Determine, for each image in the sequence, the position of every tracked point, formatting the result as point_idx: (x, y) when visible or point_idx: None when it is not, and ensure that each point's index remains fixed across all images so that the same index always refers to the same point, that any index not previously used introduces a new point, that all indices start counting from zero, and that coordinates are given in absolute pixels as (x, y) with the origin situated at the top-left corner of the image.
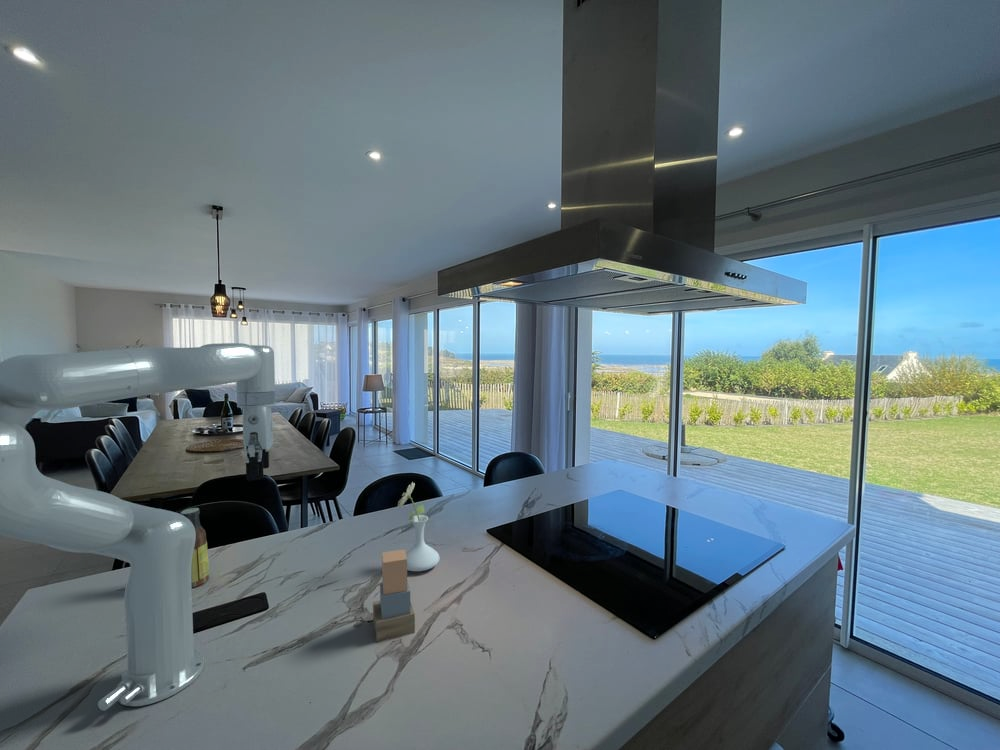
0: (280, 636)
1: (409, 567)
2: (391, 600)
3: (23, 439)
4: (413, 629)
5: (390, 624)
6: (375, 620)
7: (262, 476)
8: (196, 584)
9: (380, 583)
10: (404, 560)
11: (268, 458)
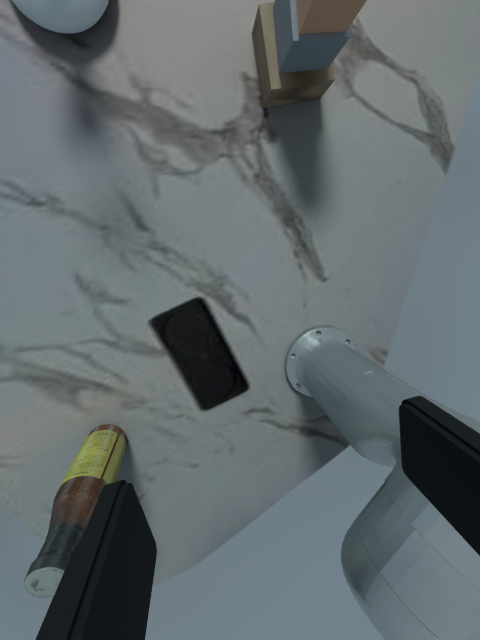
0: (273, 255)
1: (104, 2)
2: None
3: None
4: None
5: None
6: (312, 87)
7: (429, 404)
8: (122, 432)
9: (299, 39)
10: None
11: (96, 557)
